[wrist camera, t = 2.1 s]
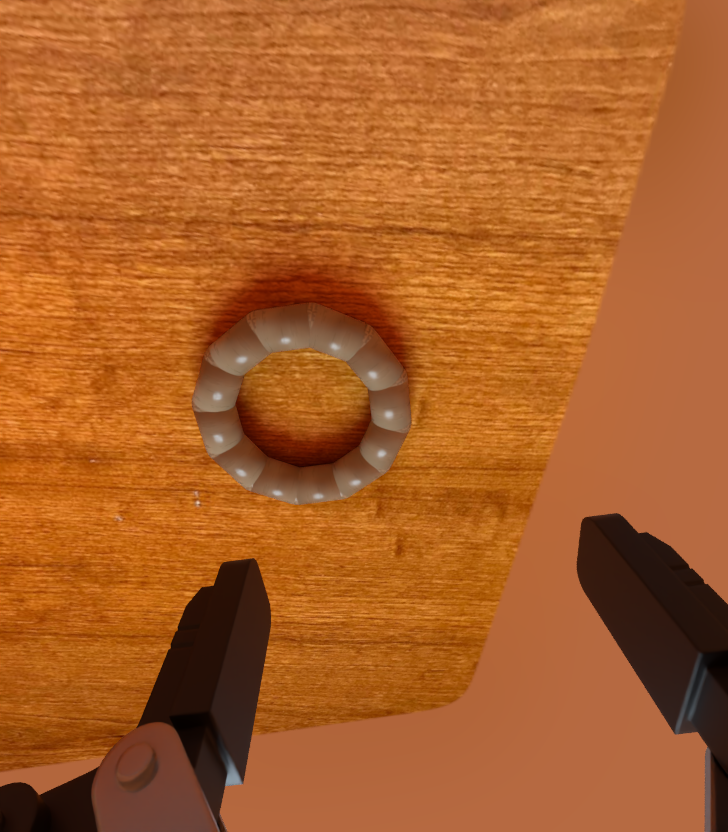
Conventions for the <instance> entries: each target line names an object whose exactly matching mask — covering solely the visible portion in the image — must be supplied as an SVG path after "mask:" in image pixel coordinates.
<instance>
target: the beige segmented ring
mask: <svg viewBox="0 0 728 832" xmlns="http://www.w3.org/2000/svg"><path fill="white" fill-rule="evenodd" d="M309 347H310V348H312V349H315V350H317V351H320V352H323V353H325V354H328V355H331V356H333V357H336V358H338V359H341V360H344V361H346V362H347V364H348V365H349V366H350V367H351V368H352V370H353V371H354V372H355V373H356V374H357V376H358V377H359V378H360V379H361V381H362V382H363V383H364V384H365V385H366V387H367V388H368V393H369V401H370V408H371V416H372V419H371V422H370V424H369V426H368V428H367V430H366V432H365V434H364V437H363V439H362V441H361V443H360V445H359V446H358V447H356V448H355V449H353V450H352V451H350V452H349V453H348V454H346V455H345V456H343V457H342V458H340V459H339V460H337V461H336V462H334V463H331V464H323V465H315V466H308V467H297V466H294V465H291V464H288V463H285V462H282V461H279V460H276V459H273V458H269V457H267V456H266V455H265V454H264V453H263V452H262V451H261V450H260V449H259V448H258V447H257V446H256V445H255V444H254V443H253V442H252V441H251V440H250V439H249V438H248V437H247V436H246V435H245V434H244V432H243V429H242V425H241V422H240V418H239V415H238V411H237V408H236V404H235V403H236V400H237V397H238V394H239V391H240V388H241V384H242V381H243V378H244V375H245V374H246V373H247V372H248V371H249V370H251V369H252V368H253V367H254V366H256V365H257V364H258V363H259V362H261V361H262V360H263V359H264V358H266V357H267V356H268V355H269V354H271V353H273V352H280V351H287V350H295V349H302V348H309ZM192 408H193V411H194V414H195V417H196V420H197V423H198V426H199V430H200V433H201V436H202V439H203V442H204V445H205V448H206V450H207V453H208V454H209V456H210V457H211V458H212V459H213V460H214V461H215V462H217V463H218V464H219V465H220V466H221V467H222V468H223V469H224V470H225V471H226V472H227V473H229V474H230V475H231V476H232V477H233V478H234V479H235V480H236V481H237V482H238V483H239V484H241V485H242V486H243V487H244V488H245V489H247V490H249V491H251V492H254V493H258V494H261V495H264V496H268V497H271V498H274V499H277V500H281V501H284V502H287V503H290V504H295V505H302V504H309V503H317V502H325V501H333V500H340V499H345V498H348V497H350V496H351V495H353V494H354V493H356V492H357V491H359V490H360V489H362V488H364V487H365V486H367V485H368V484H370V483H371V482H373V481H374V480H376V479H377V478H379V477H380V476H382V475H383V474H385V473H386V472H387V471H388V470H389V469H390V467H391V465H392V463H393V461H394V459H395V457H396V456H397V454H398V452H399V450H400V448H401V446H402V444H403V442H404V440H405V438H406V436H407V434H408V432H409V430H410V428H411V410H410V399H409V387H408V377H407V373H406V370H405V369H404V367H403V366H402V365H401V363H400V362H399V361H398V359H397V358H396V357H395V355H394V354H393V353H392V351H391V350H390V349H389V348H388V346H387V345H386V344H385V342H384V341H383V340H382V338H381V337H380V336H379V334H378V333H377V332H376V331H375V329H374V328H373V327H372V326H370V325H369V324H367V323H364V322H362V321H359V320H357V319H355V318H352V317H350V316H347V315H345V314H342V313H340V312H337V311H335V310H332V309H330V308H328V307H325V306H323V305H320V304H317V303H302V304H295V305H288V306H281V307H274V308H266V309H259V310H254V311H252V312H250V313H248V314H247V315H246V316H245V317H243V318H242V319H241V320H240V321H239V322H237V323H236V324H235V325H234V326H233V327H231V328H230V329H229V330H228V331H227V332H226V333H224V334H223V335H222V336H221V337H220V338H218V339H217V340H216V341H215V342H214V343H212V344H211V345H210V346H209V347H208V348H207V350H206V352H205V354H204V357H203V361H202V365H201V368H200V372H199V376H198V379H197V383H196V387H195V390H194V394H193V398H192Z"/></svg>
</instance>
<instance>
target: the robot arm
mask: <svg viewBox="0 0 728 832" xmlns="http://www.w3.org/2000/svg"><path fill="white" fill-rule="evenodd" d="M577 573H578V578H579V581H580V584H581V586H582V588H583V590H584V592H585V594H586V595H587V597H588V598H589V600H590V602H591V603H592V605H593V606H594V608H595V609H596V611H597V612H598V614H599V616H600V617H601V619H602V620H603V622H604V624H605V625H606V627H607V628H608V630H609V631H610V633H611V634H612V636H613V638H614V639H615V641H616V642H617V644H618V646H619V647H620V648H621V650H622V651H623V653H624V655H625V657H626V658H627V660H628V661H629V663H630V664H631V666H632V668H633V669H634V671H635V672H636V674H637V675H638V677H639V679H640V680H641V681H642V683H643V685H644V686H645V688H646V689H647V691H648V693H649V694H650V696H651V697H652V699H653V700H654V702H655V704H656V705H657V707H658V708H659V710H660V711H661V713H662V715H663V716H664V718H665V719H666V721H667V722H668V724H669V726H670V727H671V729H672V730H673V732H674V733H675V734H683V733H692V732H698V733H699V734H700V736H701V737H702V739H703V740H704V742H705V743H706V745H707V746H708V747H707V749H706V753H705V832H728V604H727V603H726V602H725V601H724V600H723V599H722V598H721V597H720V596H719V595H718V594H717V593H716V592H715V591H714V590H713V589H712V588H711V587H710V586H709V585H708V584H705V583H704V580H703V579H702V578H701V577H700V576H699V575H698V574H697V573H696V572H695V571H694V570H693V569H690V568H689V565H688V564H687V563H686V562H685V561H684V560H683V559H682V557H680V555H679V554H677V553H676V551H675V550H674V549H673V548H672V547H671V546H669V545H667V544H666V543H664V542H662V541H661V540H659V539H657V538H656V537H654V536H652V535H650V534H649V533H647V532H646V533H638V532H637V531H636V530H635V529H633V527H632V526H631V525H630V524H629V523H628V522H627V520H626V519H625V518H624V517H623V516H621V515H620V514H617V513H616V514H607V515H600V516H592V517H585V518H584V519H583V520H582V523H581V531H580V539H579V548H578V557H577ZM270 627H271V610H270V603H269V599H268V596H267V593H266V590H265V586H264V583H263V580H262V576H261V573H260V570H259V566H258V563H257V561H256V560H255V559H254V558H252V559H244V560H237V561H229V562H224V563H222V565H221V566H220V569H219V572H218V575H217V578H216V580H215V583H214V586H209V587H202V588H201V589H200V590H199V591H198V592H197V594H196V595H195V596H194V597H193V598H192V600H191V601H190V602H189V603H188V604H187V606H186V608H185V610H184V613H183V615H182V618H181V620H180V623H179V625H178V631H176V632H175V635H174V637H173V640H172V642H171V649H169V650H168V652H167V655H166V657H165V660H164V662H163V665H162V667H161V670H160V672H159V675H158V677H157V680H156V682H155V685H154V687H153V690H152V692H151V695H150V697H149V700H148V702H147V705H146V707H145V710H144V712H143V715H142V717H141V720H140V722H139V724H138V726H137V728H136V729H134V730H132V731H131V732H129V733H128V734H126V735H125V736H124V737H123V738H121V739H120V740H119V741H118V742H117V743H116V744H115V745H114V746H113V747H112V748H111V750H110V751H109V752H108V753H107V755H106V756H105V758H104V759H103V760H102V762H101V764H100V766H99V767H97V768H96V769H94V770H92V771H90V772H88V773H86V774H84V775H82V776H80V777H77V778H75V779H73V780H71V781H69V782H67V783H64V784H62V785H60V786H58V787H56V788H54V789H51V790H49V791H47V792H45V793H43V794H41V795H38V793H37V792H36V791H35V790H34V789H33V788H32V787H31V786H30V785H28V784H26V783H21V782H19V783H11V784H7V785H4V786H2V787H0V832H227V829H226V827H225V825H224V822H223V820H222V817H221V815H220V808H221V803H222V798H223V793H224V789H225V786H230V785H238V784H243V781H244V776H245V770H246V765H247V759H248V753H249V747H250V742H251V736H252V730H253V725H254V719H255V713H256V708H257V702H258V696H259V691H260V685H261V679H262V674H263V668H264V662H265V656H266V651H267V645H268V639H269V634H270Z"/></svg>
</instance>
